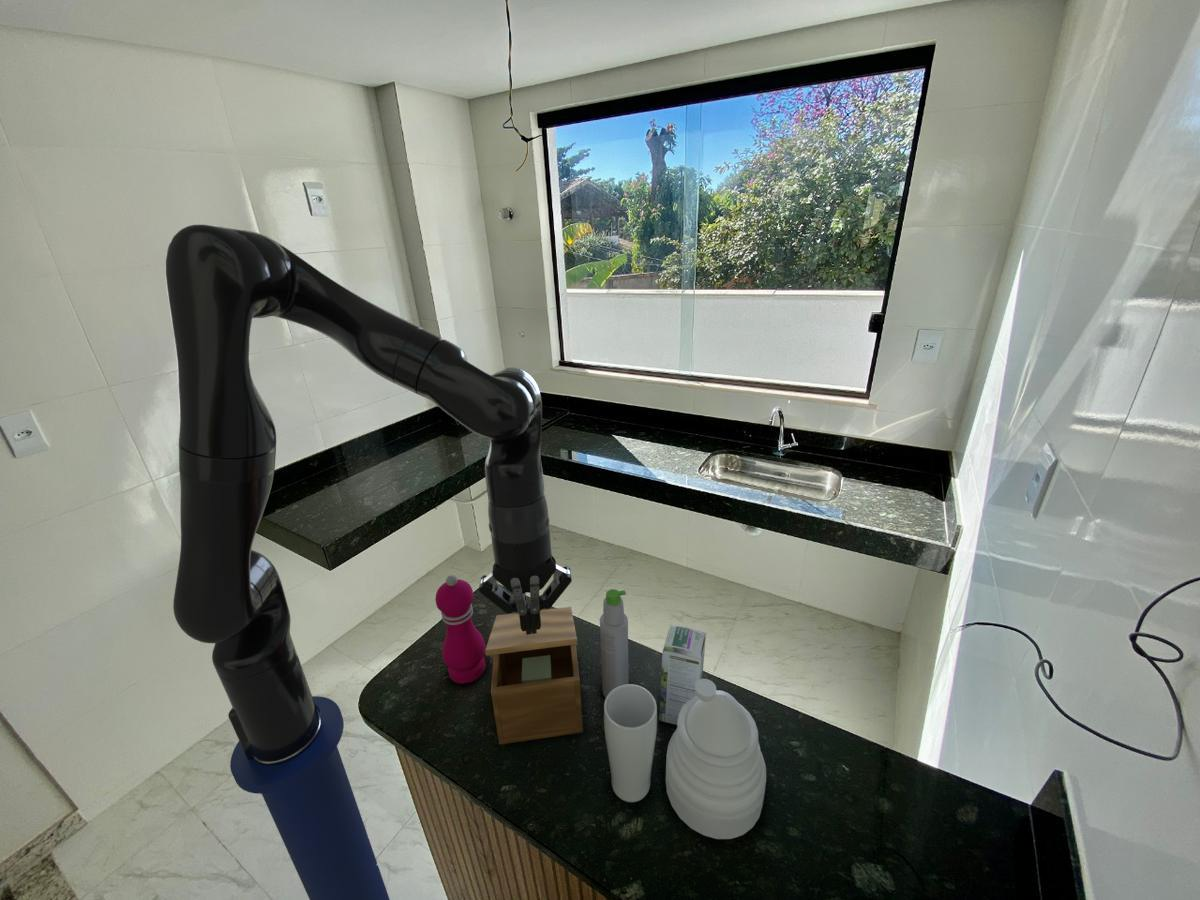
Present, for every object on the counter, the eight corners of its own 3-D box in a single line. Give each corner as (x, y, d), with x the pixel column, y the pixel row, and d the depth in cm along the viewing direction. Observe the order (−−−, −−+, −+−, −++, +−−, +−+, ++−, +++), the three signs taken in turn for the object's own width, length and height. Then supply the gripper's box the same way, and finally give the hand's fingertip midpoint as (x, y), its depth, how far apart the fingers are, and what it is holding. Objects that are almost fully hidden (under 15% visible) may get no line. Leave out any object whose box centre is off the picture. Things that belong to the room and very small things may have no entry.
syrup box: (665, 691, 80) (667, 622, 74) (701, 700, 78) (706, 630, 73) (658, 721, 75) (660, 649, 69) (697, 731, 73) (702, 658, 68)
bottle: (627, 703, 78) (626, 603, 71) (601, 701, 79) (597, 602, 71) (629, 681, 82) (628, 584, 75) (603, 679, 83) (600, 583, 75)
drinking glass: (596, 791, 66) (592, 712, 60) (622, 751, 71) (621, 675, 65) (640, 821, 62) (640, 740, 56) (664, 776, 67) (666, 698, 61)
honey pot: (664, 831, 61) (667, 731, 54) (666, 737, 73) (669, 644, 66) (771, 846, 59) (788, 744, 52) (755, 747, 71) (767, 652, 64)
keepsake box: (582, 732, 74) (579, 680, 70) (499, 744, 72) (490, 691, 68) (574, 658, 87) (571, 610, 83) (503, 667, 86) (496, 619, 81)
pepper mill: (437, 681, 83) (417, 586, 76) (460, 650, 90) (444, 559, 82) (474, 690, 81) (458, 594, 74) (495, 658, 88) (482, 566, 80)
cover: (577, 644, 67) (576, 638, 67) (485, 655, 66) (485, 650, 66) (571, 611, 83) (571, 606, 83) (496, 620, 81) (496, 615, 81)
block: (526, 719, 75) (521, 680, 72) (526, 695, 79) (522, 658, 76) (554, 715, 76) (551, 677, 73) (553, 691, 80) (550, 654, 77)
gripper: (568, 506, 67) (575, 607, 73) (470, 515, 65) (486, 617, 72) (573, 535, 60) (580, 643, 66) (464, 546, 58) (482, 656, 65)
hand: (531, 630), depth 69 cm, fingers closed
